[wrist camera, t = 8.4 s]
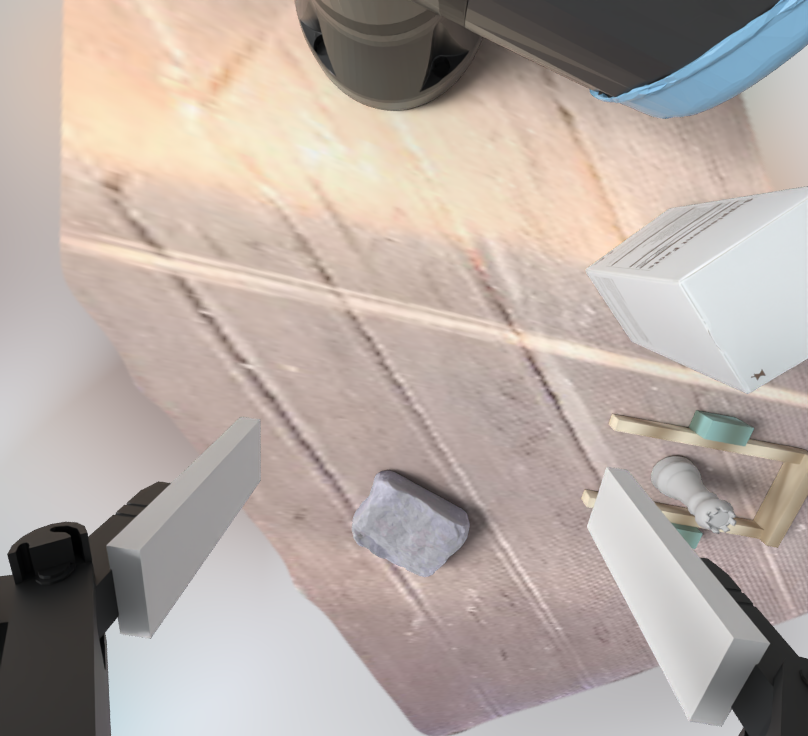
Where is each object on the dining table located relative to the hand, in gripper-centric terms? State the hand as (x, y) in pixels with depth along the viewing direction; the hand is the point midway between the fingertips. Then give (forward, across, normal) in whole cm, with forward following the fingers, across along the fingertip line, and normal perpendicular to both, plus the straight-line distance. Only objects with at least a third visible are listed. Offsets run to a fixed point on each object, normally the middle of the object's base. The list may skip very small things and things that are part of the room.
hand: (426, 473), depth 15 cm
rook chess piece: (+26, +28, -12) cm, 40 cm away
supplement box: (+26, +20, +7) cm, 34 cm away
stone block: (+26, 0, -23) cm, 35 cm away
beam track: (+26, +30, -12) cm, 41 cm away
